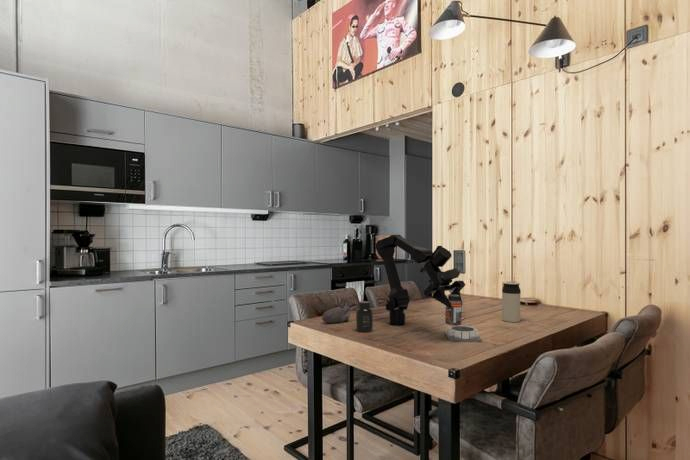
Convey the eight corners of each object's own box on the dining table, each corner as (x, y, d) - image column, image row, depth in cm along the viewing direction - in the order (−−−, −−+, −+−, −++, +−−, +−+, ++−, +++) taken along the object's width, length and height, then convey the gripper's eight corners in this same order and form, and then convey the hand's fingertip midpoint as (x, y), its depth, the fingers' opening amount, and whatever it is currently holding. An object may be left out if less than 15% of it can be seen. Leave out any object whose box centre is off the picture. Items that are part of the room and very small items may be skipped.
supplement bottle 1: (374, 329, 175) (374, 301, 175) (370, 333, 168) (370, 303, 168) (359, 328, 177) (359, 300, 177) (354, 331, 170) (354, 302, 170)
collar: (449, 341, 157) (449, 332, 157) (444, 333, 169) (444, 324, 169) (481, 341, 156) (482, 332, 156) (474, 333, 168) (474, 325, 168)
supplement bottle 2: (442, 323, 160) (442, 294, 160) (454, 321, 162) (455, 293, 162) (451, 326, 154) (452, 296, 154) (464, 325, 157) (465, 295, 157)
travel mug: (501, 321, 191) (502, 282, 191) (502, 318, 198) (502, 280, 198) (520, 323, 188) (520, 283, 188) (520, 319, 195) (520, 281, 195)
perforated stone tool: (324, 325, 181) (324, 309, 181) (319, 323, 186) (319, 307, 186) (353, 321, 189) (353, 306, 189) (347, 319, 194) (347, 304, 194)
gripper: (429, 262, 156) (451, 295, 147) (462, 260, 167) (484, 291, 158) (414, 280, 163) (434, 313, 154) (446, 277, 173) (467, 308, 164)
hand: (456, 306), depth 157 cm, fingers closed on supplement bottle 2, 6 cm apart
